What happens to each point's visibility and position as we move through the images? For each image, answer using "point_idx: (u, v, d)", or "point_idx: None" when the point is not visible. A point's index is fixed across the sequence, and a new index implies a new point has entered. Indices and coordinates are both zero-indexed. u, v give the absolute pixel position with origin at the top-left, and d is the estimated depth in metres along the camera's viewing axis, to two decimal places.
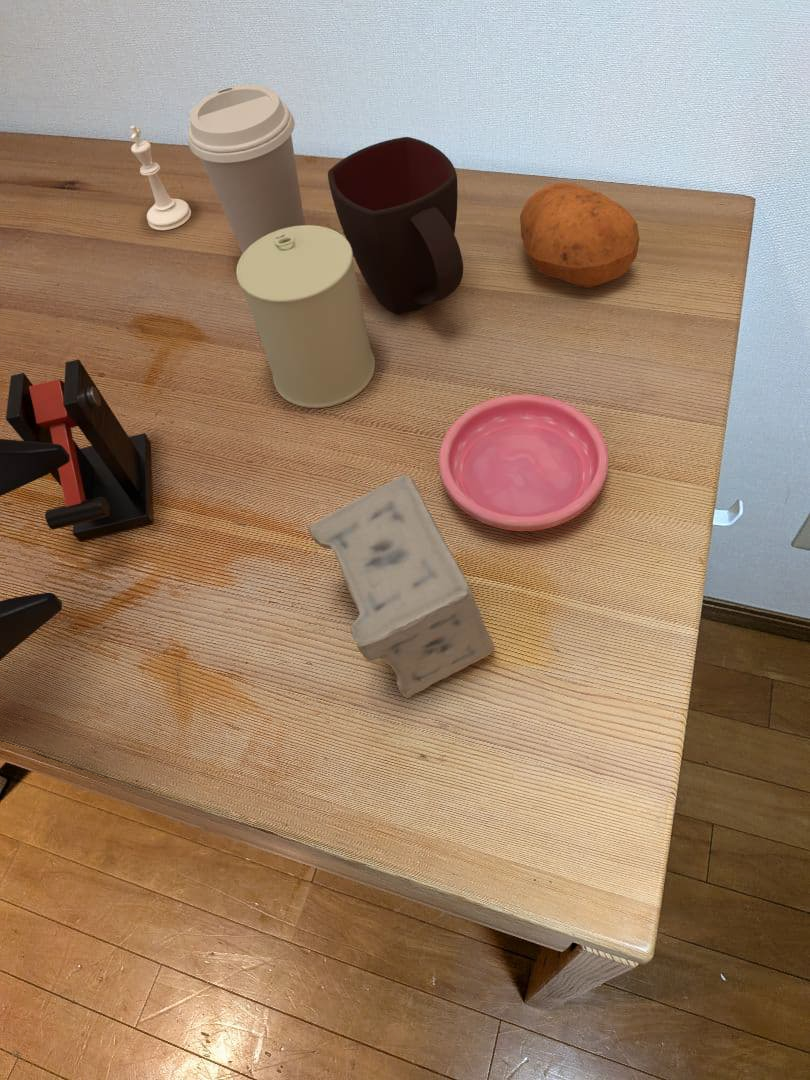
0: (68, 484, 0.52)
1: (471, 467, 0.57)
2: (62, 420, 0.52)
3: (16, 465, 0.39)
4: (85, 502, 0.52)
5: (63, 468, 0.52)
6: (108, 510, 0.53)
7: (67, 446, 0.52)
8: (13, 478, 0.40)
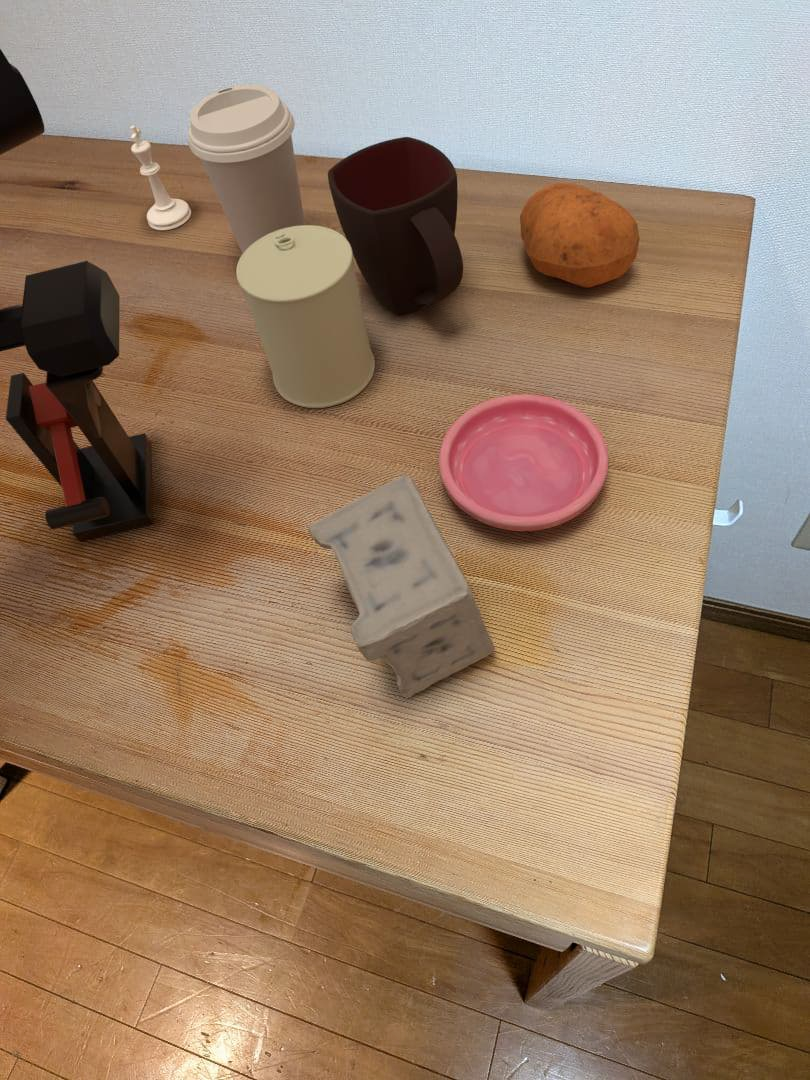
0: (68, 484, 0.52)
1: (471, 467, 0.57)
2: (62, 420, 0.52)
3: None
4: (85, 502, 0.52)
5: (63, 468, 0.52)
6: (108, 510, 0.53)
7: (67, 446, 0.52)
8: None
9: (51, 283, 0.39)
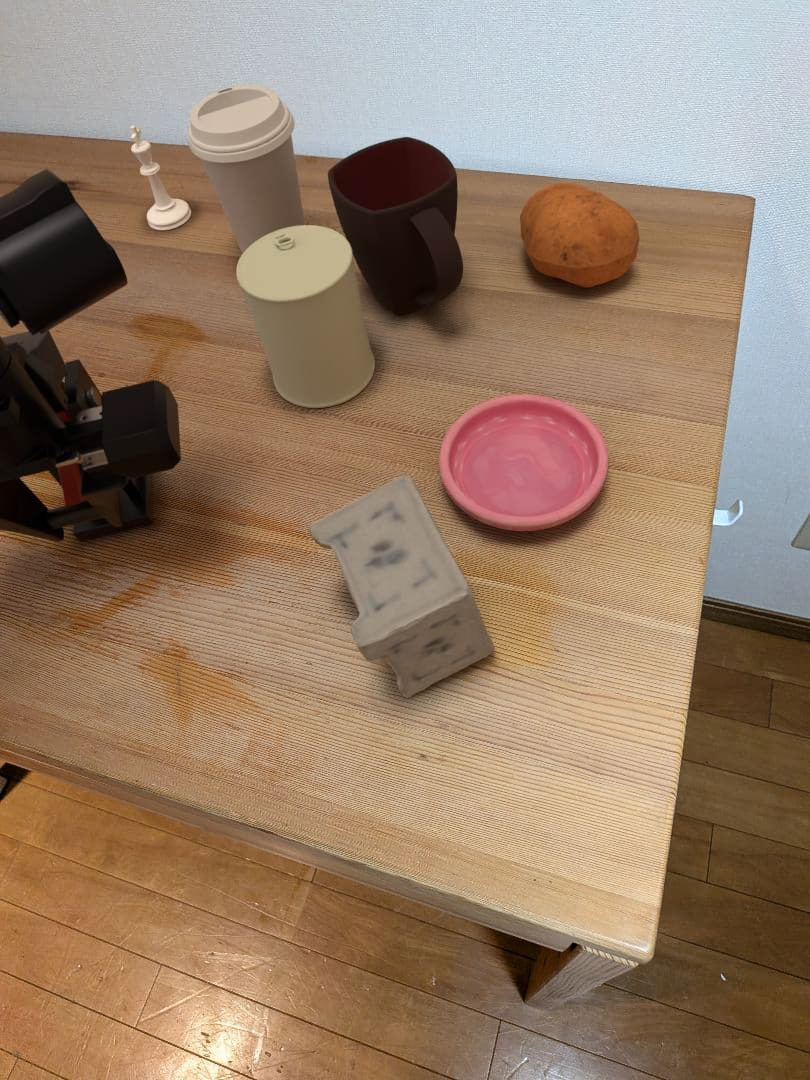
0: (68, 484, 0.52)
1: (471, 467, 0.57)
2: (62, 420, 0.52)
3: (43, 515, 0.52)
4: (85, 502, 0.52)
5: (63, 468, 0.52)
6: None
7: None
8: (35, 520, 0.51)
9: (124, 400, 0.46)
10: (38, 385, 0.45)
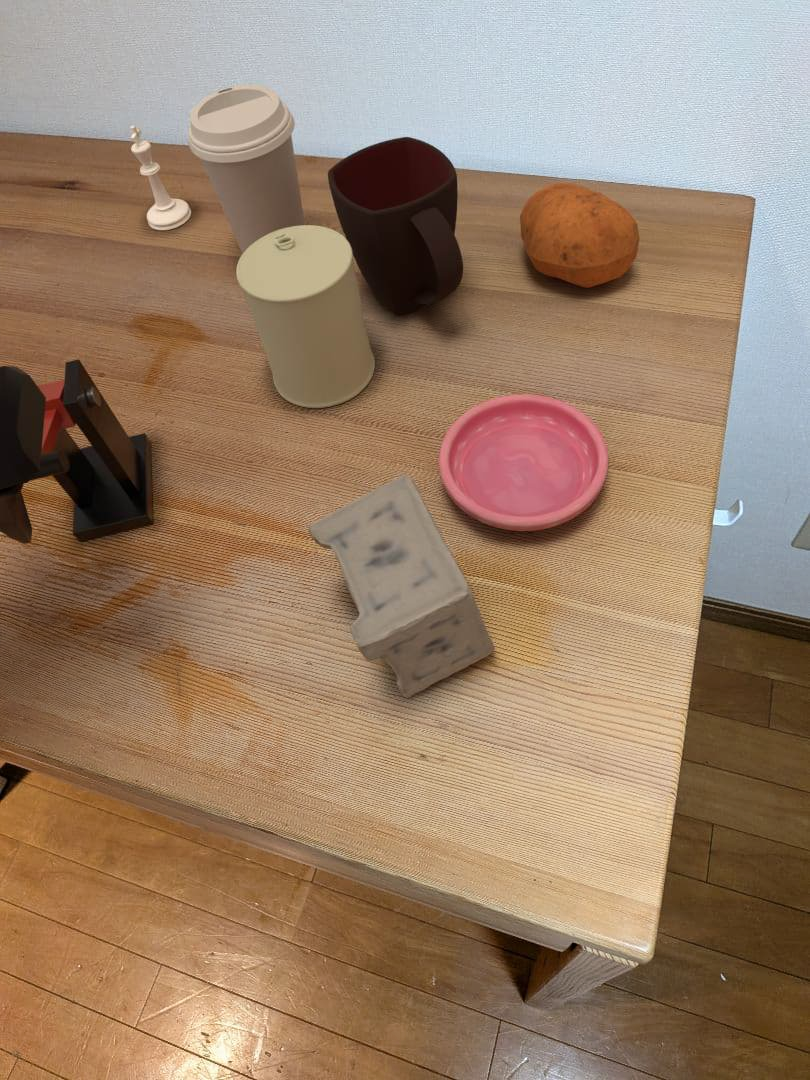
0: None
1: (471, 467, 0.57)
2: (55, 407, 0.52)
3: None
4: (44, 454, 0.47)
5: None
6: (66, 467, 0.47)
7: (49, 422, 0.50)
8: None
9: None
10: None
